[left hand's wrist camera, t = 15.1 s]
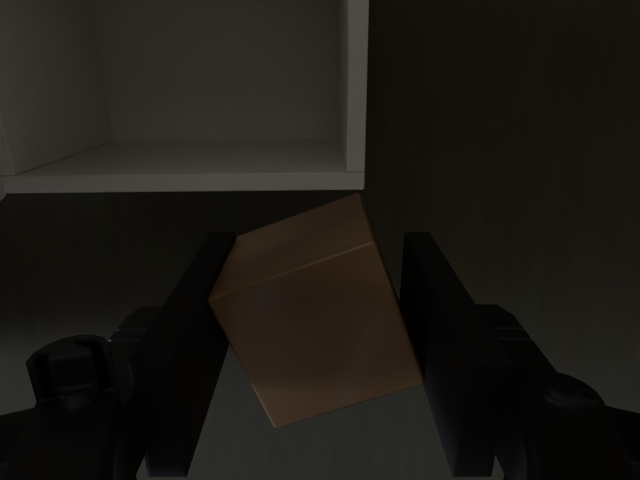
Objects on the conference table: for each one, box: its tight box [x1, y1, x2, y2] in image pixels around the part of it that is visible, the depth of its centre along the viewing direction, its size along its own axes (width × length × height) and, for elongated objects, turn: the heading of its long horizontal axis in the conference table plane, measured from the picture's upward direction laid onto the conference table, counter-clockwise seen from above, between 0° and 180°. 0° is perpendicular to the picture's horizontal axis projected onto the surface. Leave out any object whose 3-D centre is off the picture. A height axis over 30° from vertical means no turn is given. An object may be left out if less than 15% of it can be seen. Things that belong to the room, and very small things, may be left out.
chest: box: [0, 0, 369, 193], centre depth 22 cm, size 15×10×10 cm, turn 91°
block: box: [207, 193, 424, 428], centre depth 13 cm, size 4×4×4 cm
